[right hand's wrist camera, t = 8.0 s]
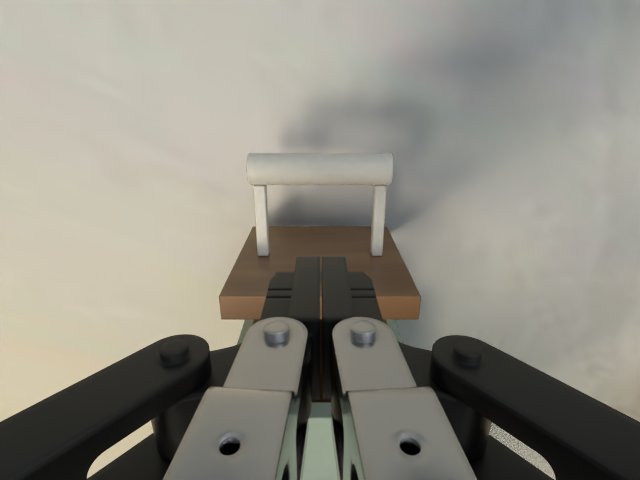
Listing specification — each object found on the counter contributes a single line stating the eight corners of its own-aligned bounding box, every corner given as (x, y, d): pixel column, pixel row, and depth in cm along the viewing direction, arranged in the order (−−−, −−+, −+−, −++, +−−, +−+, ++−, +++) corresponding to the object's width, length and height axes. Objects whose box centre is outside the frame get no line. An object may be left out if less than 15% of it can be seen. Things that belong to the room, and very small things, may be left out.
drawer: (247, 141, 24) (205, 171, 15) (392, 141, 24) (434, 171, 15) (262, 371, 30) (238, 486, 21) (377, 371, 30) (400, 486, 21)
